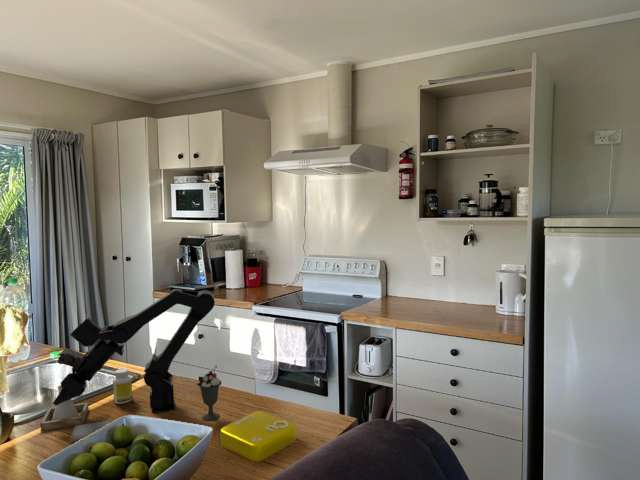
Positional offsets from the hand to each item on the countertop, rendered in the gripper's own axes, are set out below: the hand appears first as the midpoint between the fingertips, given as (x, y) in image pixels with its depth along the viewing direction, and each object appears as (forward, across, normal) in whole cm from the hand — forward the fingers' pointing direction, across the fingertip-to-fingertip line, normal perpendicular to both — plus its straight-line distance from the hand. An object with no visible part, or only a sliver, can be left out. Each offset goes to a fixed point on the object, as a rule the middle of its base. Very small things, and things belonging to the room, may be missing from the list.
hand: (59, 397), depth 137 cm
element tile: (-33, +29, +43) cm, 62 cm away
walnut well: (+4, 0, +6) cm, 7 cm away
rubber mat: (-2, +10, +12) cm, 16 cm away
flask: (+4, 0, +6) cm, 7 cm away
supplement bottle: (-6, -9, +16) cm, 19 cm away
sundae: (-25, +11, +35) cm, 44 cm away
